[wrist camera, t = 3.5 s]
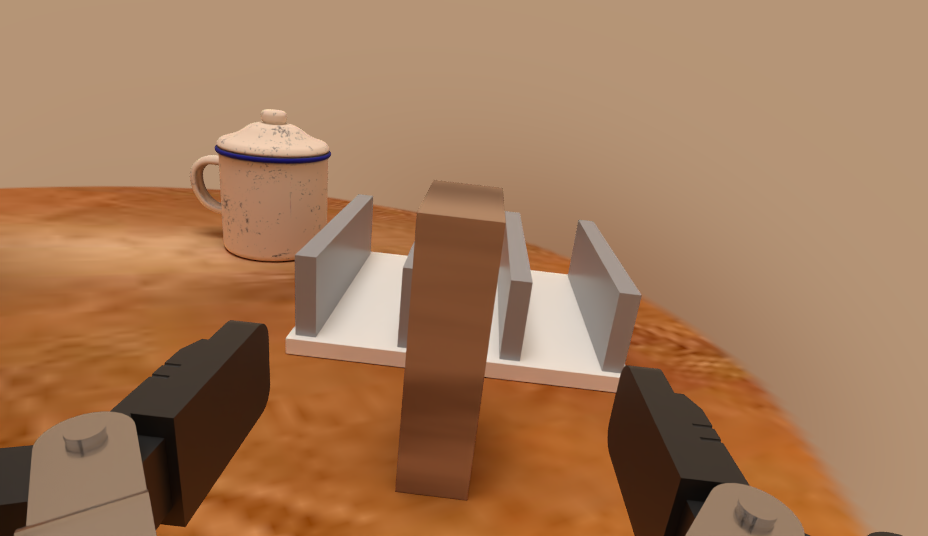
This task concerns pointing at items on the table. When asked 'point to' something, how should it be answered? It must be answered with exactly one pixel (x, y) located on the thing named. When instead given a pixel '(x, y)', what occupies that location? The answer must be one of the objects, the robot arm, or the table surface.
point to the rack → (514, 317)
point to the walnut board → (448, 335)
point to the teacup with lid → (268, 188)
